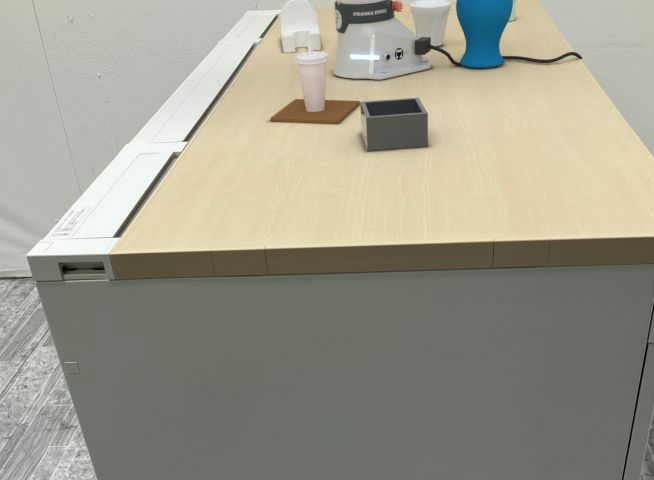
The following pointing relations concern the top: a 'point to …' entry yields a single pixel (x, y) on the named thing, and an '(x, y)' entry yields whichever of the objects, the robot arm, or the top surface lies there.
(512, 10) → the candle
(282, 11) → the white u-slot block
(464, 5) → the vase
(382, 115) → the holder
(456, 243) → the top surface
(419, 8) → the cup
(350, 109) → the coaster
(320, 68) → the smoothie
